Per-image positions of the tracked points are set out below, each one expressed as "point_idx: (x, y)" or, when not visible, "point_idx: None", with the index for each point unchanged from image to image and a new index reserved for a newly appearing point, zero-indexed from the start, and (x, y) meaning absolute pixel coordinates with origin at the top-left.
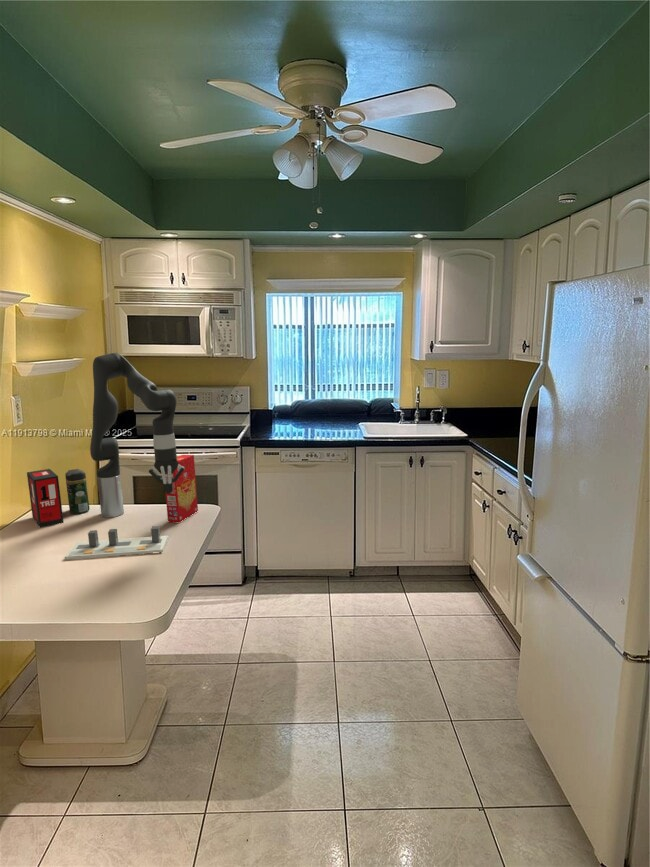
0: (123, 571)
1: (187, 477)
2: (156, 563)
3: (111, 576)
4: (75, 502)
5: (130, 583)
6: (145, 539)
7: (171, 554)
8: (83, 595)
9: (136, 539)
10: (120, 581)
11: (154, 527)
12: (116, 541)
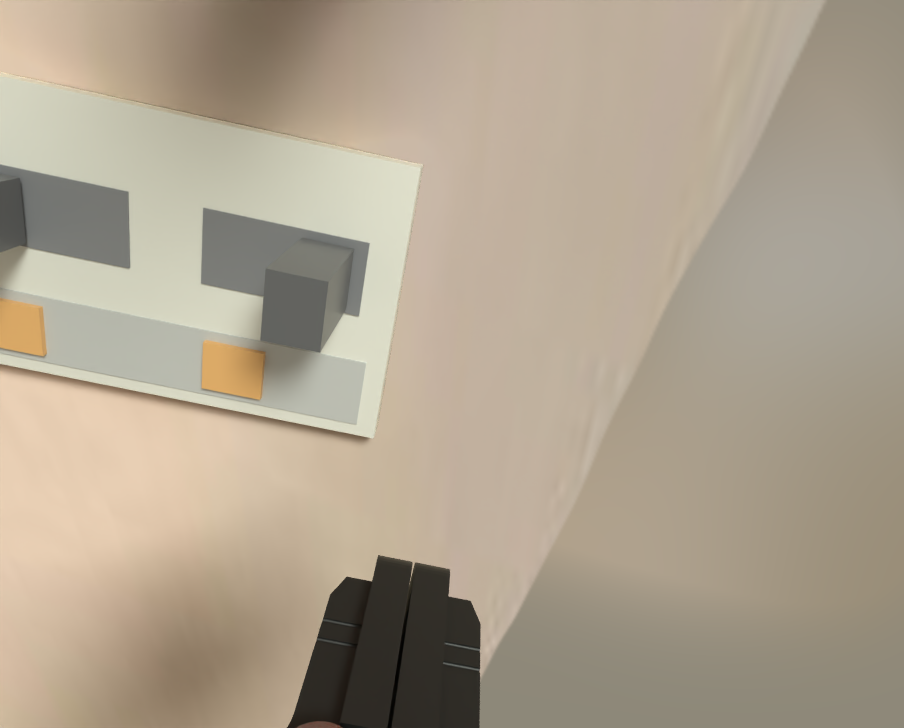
0: (183, 576)
1: None
2: (344, 550)
3: (136, 604)
4: None
5: (241, 690)
6: (236, 188)
7: (429, 469)
8: (70, 712)
9: (160, 158)
10: (192, 660)
11: (287, 310)
12: (9, 233)
